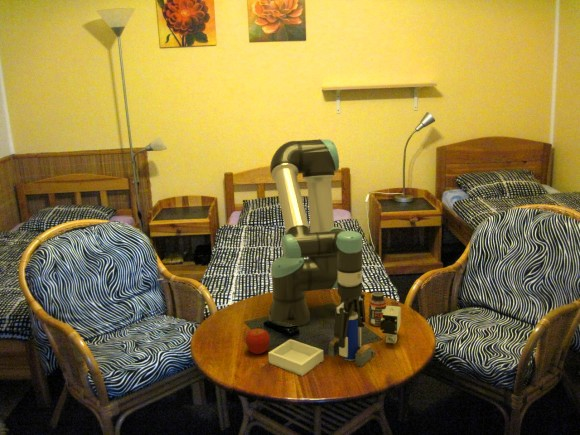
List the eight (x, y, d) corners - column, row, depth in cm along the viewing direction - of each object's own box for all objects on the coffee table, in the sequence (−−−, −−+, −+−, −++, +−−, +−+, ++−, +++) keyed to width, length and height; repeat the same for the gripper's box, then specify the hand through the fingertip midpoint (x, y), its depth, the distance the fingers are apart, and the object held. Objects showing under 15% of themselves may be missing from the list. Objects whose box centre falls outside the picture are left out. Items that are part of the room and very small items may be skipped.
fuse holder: (328, 355, 173) (328, 342, 172) (342, 345, 179) (342, 332, 178) (361, 367, 166) (361, 353, 165) (374, 356, 172) (374, 343, 171)
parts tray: (268, 363, 170) (268, 352, 169) (290, 349, 178) (290, 338, 178) (302, 376, 162) (301, 365, 161) (323, 360, 171) (323, 350, 170)
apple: (275, 351, 177) (274, 329, 175) (256, 360, 172) (255, 337, 170) (260, 343, 183) (259, 322, 181) (241, 351, 178) (240, 329, 176)
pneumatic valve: (401, 334, 186) (401, 301, 183) (395, 350, 176) (396, 315, 173) (384, 332, 188) (385, 299, 185) (378, 347, 177) (379, 313, 174)
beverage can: (360, 355, 173) (360, 311, 169) (354, 362, 169) (354, 318, 165) (344, 352, 175) (344, 308, 172) (339, 359, 171) (338, 315, 167)
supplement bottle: (374, 328, 191) (375, 298, 188) (365, 321, 196) (365, 292, 193) (389, 324, 193) (389, 295, 190) (379, 318, 198) (380, 289, 196)
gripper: (342, 296, 156) (342, 367, 162) (377, 274, 171) (376, 341, 177) (320, 290, 161) (322, 360, 167) (356, 270, 176) (357, 334, 182)
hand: (350, 350), depth 172 cm, fingers open, 7 cm apart
